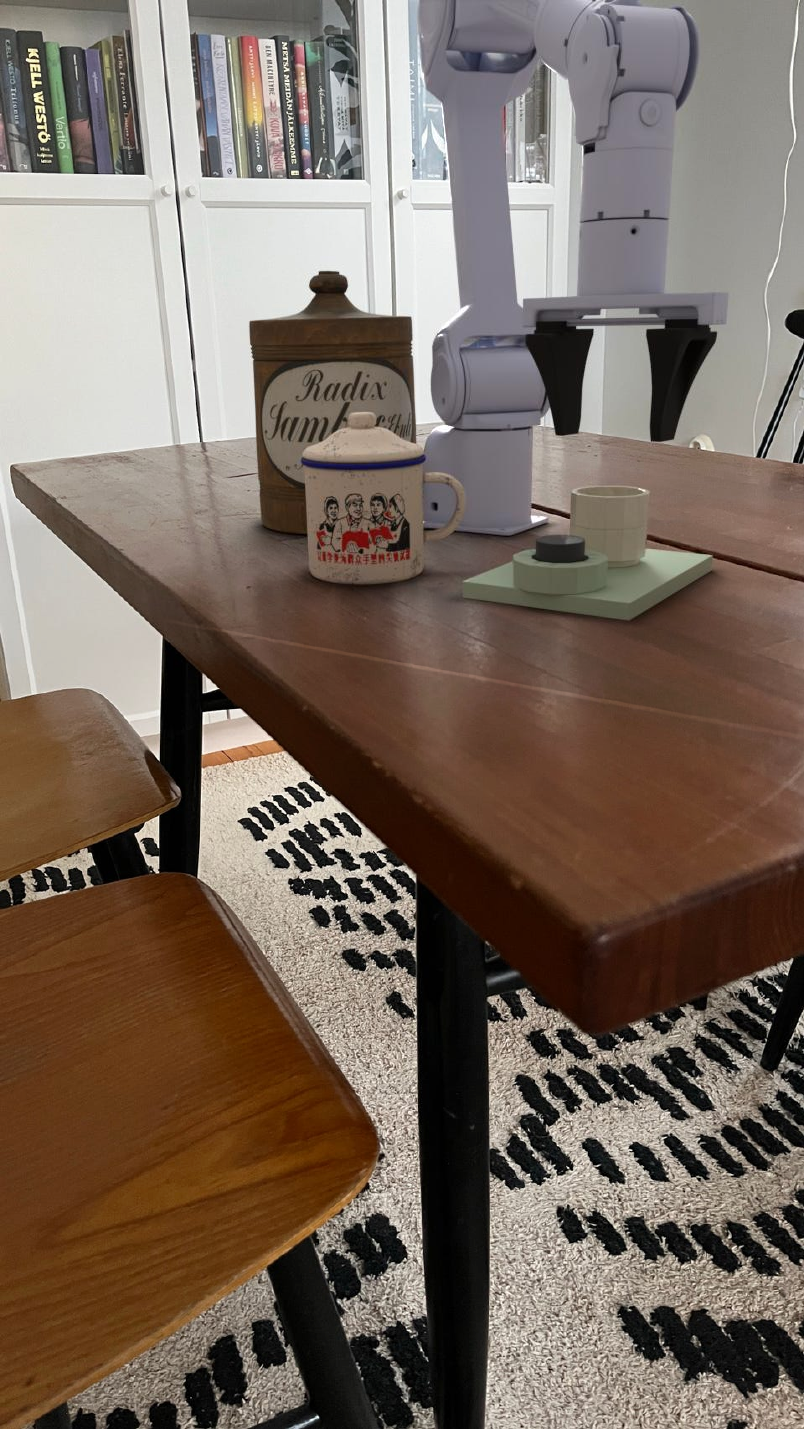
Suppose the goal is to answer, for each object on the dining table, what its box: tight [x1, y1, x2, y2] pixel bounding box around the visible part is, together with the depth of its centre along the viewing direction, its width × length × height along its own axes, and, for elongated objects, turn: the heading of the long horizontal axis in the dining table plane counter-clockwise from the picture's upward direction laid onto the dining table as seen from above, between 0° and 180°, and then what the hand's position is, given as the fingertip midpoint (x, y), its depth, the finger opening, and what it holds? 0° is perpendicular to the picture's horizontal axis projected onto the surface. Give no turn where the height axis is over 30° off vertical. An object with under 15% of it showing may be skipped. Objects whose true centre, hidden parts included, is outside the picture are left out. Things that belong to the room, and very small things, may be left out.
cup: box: [569, 485, 651, 568], centre depth 76 cm, size 5×6×5 cm
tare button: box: [535, 534, 585, 563], centre depth 70 cm, size 3×3×2 cm
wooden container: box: [248, 270, 418, 536], centre depth 96 cm, size 15×15×22 cm
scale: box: [461, 548, 714, 621], centre depth 74 cm, size 16×12×3 cm
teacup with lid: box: [301, 412, 466, 586], centre depth 78 cm, size 12×9×12 cm
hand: (613, 437), depth 73 cm, fingers open, 7 cm apart
